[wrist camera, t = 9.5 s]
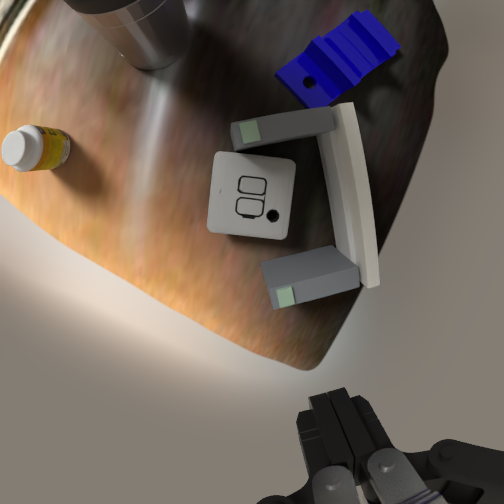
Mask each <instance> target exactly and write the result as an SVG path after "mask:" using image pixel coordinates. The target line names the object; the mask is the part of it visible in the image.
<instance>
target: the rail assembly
mask: <svg viewBox="0 0 504 504" xmlns="http://www.w3.org/2000/svg"><path fill="white" fill-rule="evenodd" d="M230 134H231V138H232V143H233V147H234V151H235V152H236V151H241V150H245V149H250V148H255V147H260V146H264V145H269V144H274V143H280V142H285V141H290V140H296V139H301V138H307V137H313V136H316V137H317V141H318V146H319V151H320V156H321V161H322V166H323V171H324V176H325V181H326V187H327V192H328V198H329V204H330V210H331V216H332V222H333V228H334V235H335V241H336V248H337V249H336V248H335V247H334V246H332V245H330V246H326V247H322V248H317V249H313V250H309V251H305V252H301V253H297V254H293V255H289V256H285V257H280V258H276V259H272V260H268V261H264V262H260V265H261V269H262V273H263V278H264V281H265V285H266V288H267V291H268V294H269V297H270V300H271V303H272V306H273V309H274V310H275V309H279V308H283V307H287V306H291V305H295V304H299V303H303V302H307V301H310V300H314V299H318V298H322V297H325V296H329V295H333V294H336V293H340V292H344V291H347V290H351V289H354V288H358V287H360V285H359V281H360V282H361V283H362V284H363V285H364V286H366V287H367V288H368V289H369V288H372V287H376V286H379V285H380V278H379V264H378V252H377V242H376V232H375V223H374V215H373V208H372V200H371V193H370V187H369V180H368V174H367V168H366V162H365V157H364V151H363V146H362V141H361V136H360V131H359V126H358V122H357V117H356V113H355V109H354V104H353V102H351V103H341V104H338V105H336V106H333V107H330V106H326V107H318V108H311V109H304V110H297V111H291V112H285V113H279V114H273V115H268V116H262V117H257V118H252V119H247V120H242V121H238V122H233V123H231V129H230Z"/></svg>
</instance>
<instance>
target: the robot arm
mask: <svg viewBox="0 0 504 504" xmlns="http://www.w3.org/2000/svg"><path fill="white" fill-rule="evenodd" d="M64 1H65V2H66V3H67V4H68V5H69V6H70V7H71V8H72V9H74V10H75V11H76V12H77V13H78V14H79V15H80V16H81V17H82V18H83V19H84V20H86V21H87V22H88V23H89V24H90V25H91V26H92V27H93V28H94V29H95V30H96V31H97V32H98V33H99V34H100V35H101V36H102V37H103V38H104V39H105V40H106V41H108V42H109V43H110V44H111V45H112V46H113V47H114V48H115V49H116V50H117V51H118V52H119V53H120V54H121V55H122V56H123V57H124V58H125V59H126V60H127V61H128V62H129V63H130V64H131V65H133V66H134V67H137V68H139V69H145V70H154V69H159V68H163V67H165V66H168V65H170V64H171V63H173V62H175V61H176V60H177V59H178V58H180V57H181V56H182V54H183V53H184V52H185V51H186V49H187V47H188V45H189V43H190V39H191V30H190V26H189V22H188V18H187V14H186V10H185V6H184V3H183V0H64ZM308 399H309V406H310V410H306V411H302V412H299V414H298V418H297V421H296V424H297V429H298V434H299V440H300V445H301V449H302V453H303V456H304V460H305V464H306V468H307V472H308V475H309V479H308V481H307V483H306V484H305V485H304V486H303V487H302V488H301V489H300V490H298V491H297V492H294V493H293V494H291V495H289V496H287V497H285V496H280V495H273V496H268V497H266V498H263V499H262V500H260V501H259V502H258V503H257V504H360V500H359V497H358V493H357V489H356V486H358V485H361V488H362V490H363V500H364V502H365V504H504V451H499V450H494V449H489V448H485V447H480V446H476V445H472V444H468V443H464V442H460V441H457V440H452V439H446V440H441V441H439V442H437V443H436V444H434V445H433V446H432V448H431V449H430V450H428V451H422V452H416V453H406V452H402V451H400V450H398V449H396V448H395V447H394V446H393V444H392V443H391V441H390V439H389V437H388V436H387V434H386V432H385V430H384V428H383V427H382V425H381V423H380V421H379V419H378V418H377V416H376V414H375V412H374V411H373V409H372V407H371V405H370V403H369V402H368V401H367V400H366V399H364V398H363V397H361V396H360V395H358V396H355V397H352V398H350V397H349V395H348V393H347V391H346V389H345V388H344V387H343V388H340V389H336V390H333V391H329V392H327V393H322V394H319V395H315V396H311V397H308Z"/></svg>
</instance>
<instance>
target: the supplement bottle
mask: <svg viewBox="0 0 504 504" xmlns="http://www.w3.org/2000/svg"><path fill="white" fill-rule="evenodd" d="M69 152H70V141H69V138H68V136H67V134H66V133H65V132H64V131H62V130H59V129H54V128H48V127H42V126H34V125H25V126H22V127H20V128H19V129H17V130H16V131H12V132H10V133H9V134H8V135H7V136H6V137H5V139H4V141H3V144H2V148H1V154H2V158H3V160H4V162H5V163H6V164H7V165H9V166H12V167H13V168H14V169H16V170H17V171H20V172H27V171H37V170H48V169H55V168H58V167H60V166H61V165H62V164H64V162H65V161H66V160H67V158H68V155H69Z"/></svg>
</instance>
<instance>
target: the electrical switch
mask: <svg viewBox="0 0 504 504" xmlns="http://www.w3.org/2000/svg"><path fill="white" fill-rule="evenodd" d="M295 170H296V165H295V163H294V162H293V161H292V160H289V159H284V158H277V157H269V156H261V155H252V154H243V153H233V152H222V151H220V152H217V153H216V154H215V156H214V163H213V172H212V180H211V189H210V199H209V208H208V218H207V228H208V229H209V230H210V231H211V232H215V233H224V234H233V235H242V236H251V237H260V238H269V239H278V240H282V239H284V238H286V236H287V233H288V225H289V218H290V210H291V202H292V195H293V186H294V178H295ZM240 179H241V181H240ZM239 189H240V190H239ZM271 211H274V212H276V213H277V216H276V217H275V218H273V219H269V218H268V213H269V212H271Z"/></svg>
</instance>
